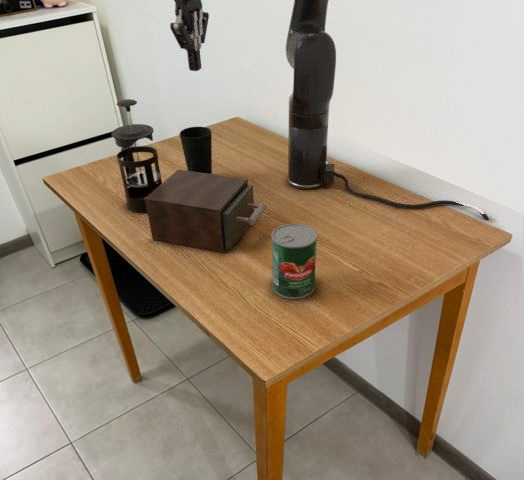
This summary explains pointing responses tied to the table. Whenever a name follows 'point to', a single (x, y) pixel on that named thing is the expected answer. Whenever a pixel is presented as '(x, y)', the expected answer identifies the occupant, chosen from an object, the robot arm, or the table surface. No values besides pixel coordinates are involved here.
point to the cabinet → (192, 209)
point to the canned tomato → (293, 260)
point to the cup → (197, 149)
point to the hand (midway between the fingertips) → (195, 69)
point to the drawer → (240, 215)
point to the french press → (136, 180)
